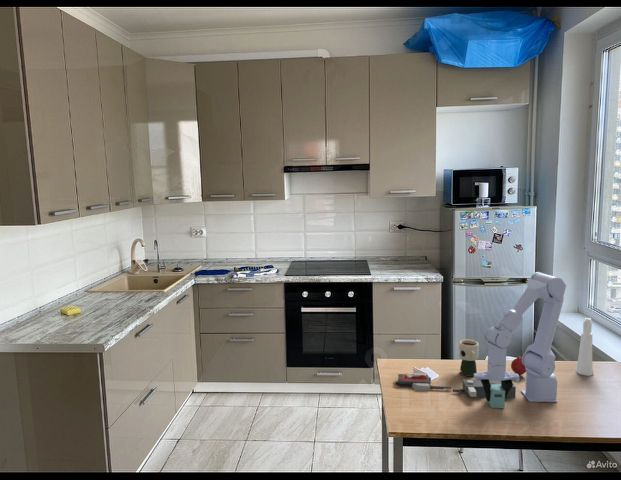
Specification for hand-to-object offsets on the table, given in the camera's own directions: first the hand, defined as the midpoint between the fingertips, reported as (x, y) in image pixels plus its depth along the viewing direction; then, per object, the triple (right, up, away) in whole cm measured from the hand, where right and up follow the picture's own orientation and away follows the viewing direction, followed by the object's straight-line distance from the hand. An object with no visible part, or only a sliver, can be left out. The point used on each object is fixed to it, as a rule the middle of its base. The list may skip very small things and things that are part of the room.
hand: (495, 400), depth 159 cm
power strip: (-1, 0, +8) cm, 8 cm away
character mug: (-1, +2, +24) cm, 24 cm away
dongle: (-7, +1, +4) cm, 8 cm away
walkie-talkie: (-21, -1, +16) cm, 26 cm away
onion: (+18, +2, +22) cm, 28 cm away
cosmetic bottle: (+44, +3, +23) cm, 49 cm away
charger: (0, -2, 0) cm, 2 cm away
